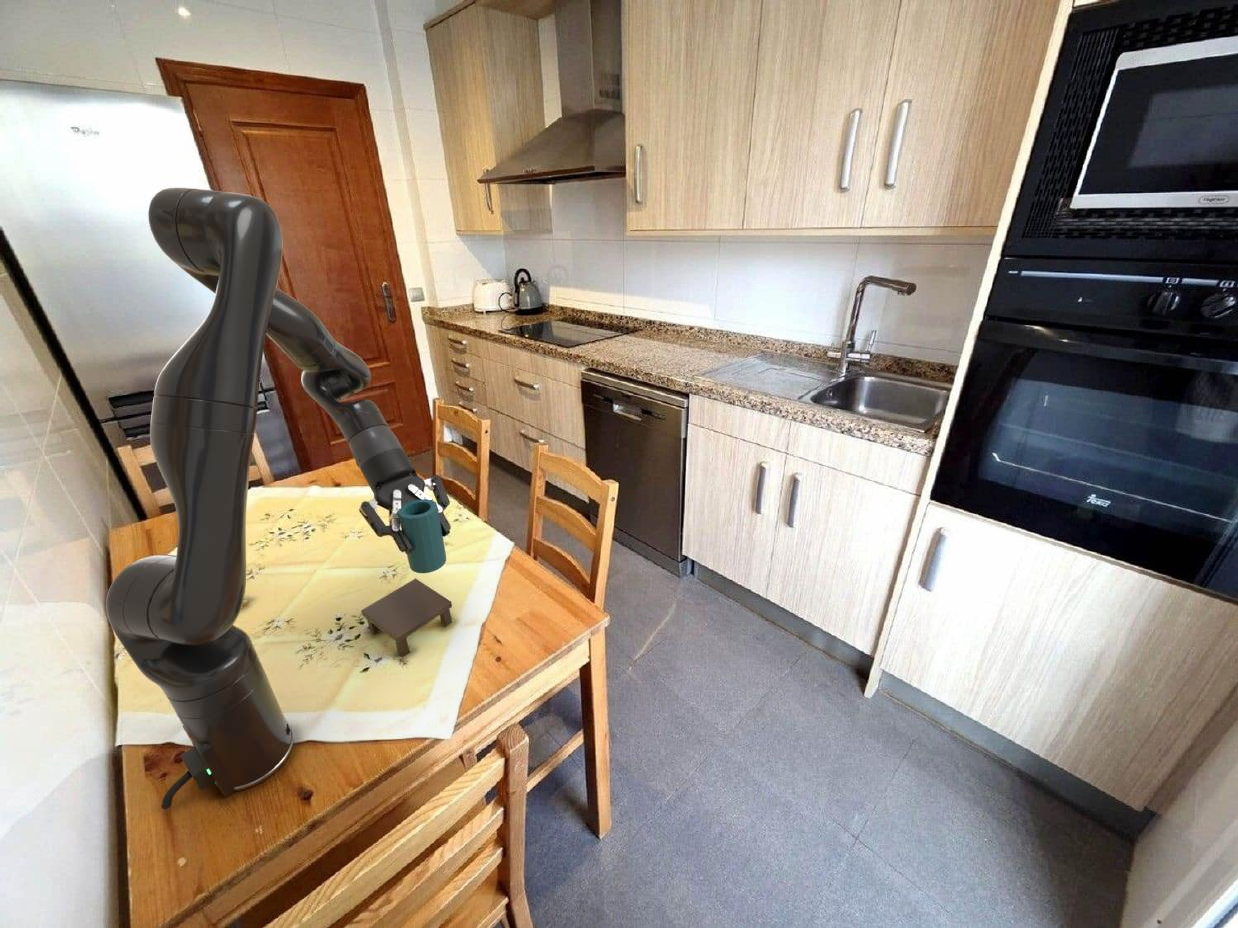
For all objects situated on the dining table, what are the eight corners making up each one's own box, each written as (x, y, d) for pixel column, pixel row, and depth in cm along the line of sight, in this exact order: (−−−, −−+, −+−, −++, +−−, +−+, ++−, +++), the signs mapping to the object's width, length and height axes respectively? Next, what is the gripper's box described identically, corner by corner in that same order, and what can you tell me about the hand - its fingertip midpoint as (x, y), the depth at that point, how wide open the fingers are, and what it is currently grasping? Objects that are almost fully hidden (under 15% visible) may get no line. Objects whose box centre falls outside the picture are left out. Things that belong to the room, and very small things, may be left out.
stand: (402, 660, 85) (396, 638, 83) (366, 631, 91) (360, 610, 89) (455, 622, 93) (451, 601, 91) (419, 598, 99) (415, 578, 97)
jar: (423, 578, 83) (412, 522, 78) (402, 564, 86) (390, 509, 81) (453, 560, 88) (444, 506, 83) (432, 548, 91) (422, 495, 86)
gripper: (340, 462, 78) (392, 556, 76) (426, 436, 88) (473, 518, 86) (334, 481, 83) (382, 569, 82) (415, 454, 93) (460, 532, 91)
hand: (428, 542), depth 84 cm, fingers closed on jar, 6 cm apart
